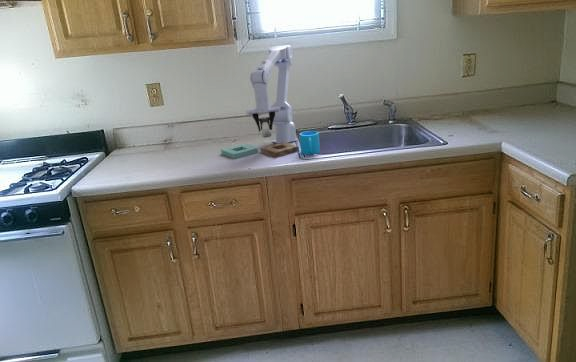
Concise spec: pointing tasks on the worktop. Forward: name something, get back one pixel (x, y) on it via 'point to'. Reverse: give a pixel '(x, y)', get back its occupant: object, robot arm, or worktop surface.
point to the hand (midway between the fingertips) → (265, 130)
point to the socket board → (239, 151)
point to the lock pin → (265, 126)
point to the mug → (309, 142)
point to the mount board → (279, 149)
